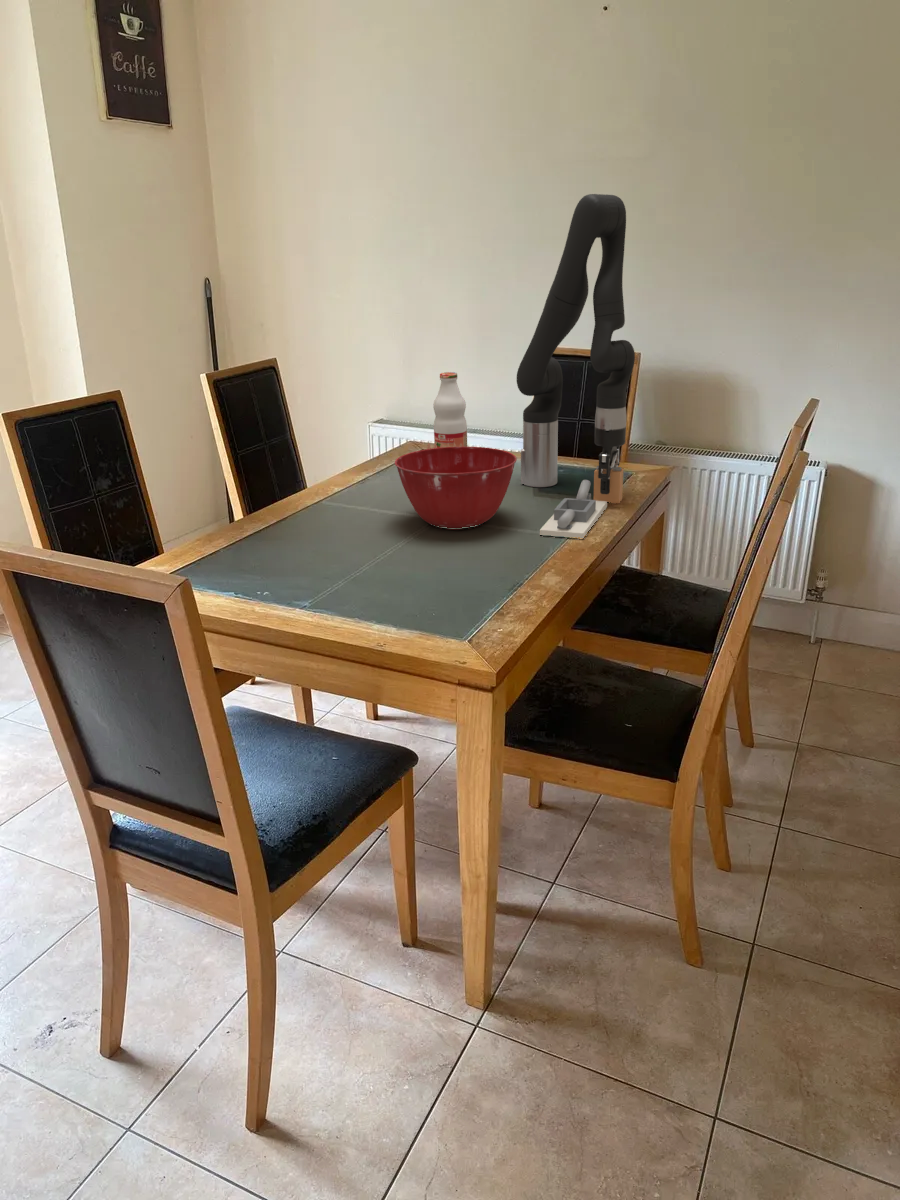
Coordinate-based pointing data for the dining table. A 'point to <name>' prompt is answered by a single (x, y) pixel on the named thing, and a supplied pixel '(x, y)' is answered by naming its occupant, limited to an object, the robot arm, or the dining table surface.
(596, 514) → the shaft rig
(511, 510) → the dining table surface
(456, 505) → the mixing bowl
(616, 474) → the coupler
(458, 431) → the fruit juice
